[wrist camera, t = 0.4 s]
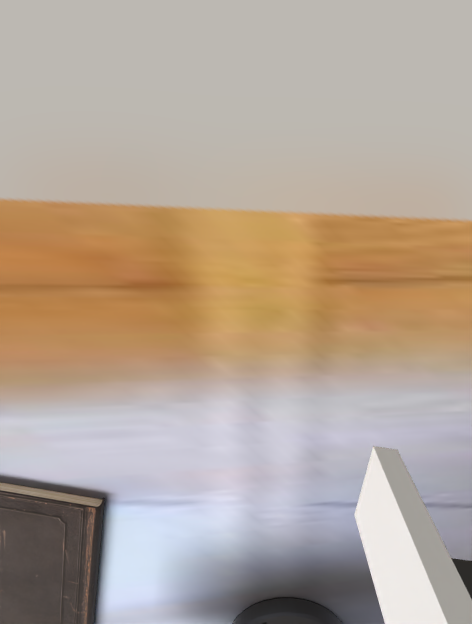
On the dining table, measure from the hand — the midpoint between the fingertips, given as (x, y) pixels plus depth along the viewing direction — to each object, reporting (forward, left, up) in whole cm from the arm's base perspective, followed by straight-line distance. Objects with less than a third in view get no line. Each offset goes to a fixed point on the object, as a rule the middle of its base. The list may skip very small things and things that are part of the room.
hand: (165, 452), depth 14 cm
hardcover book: (-39, +21, -29) cm, 53 cm away
